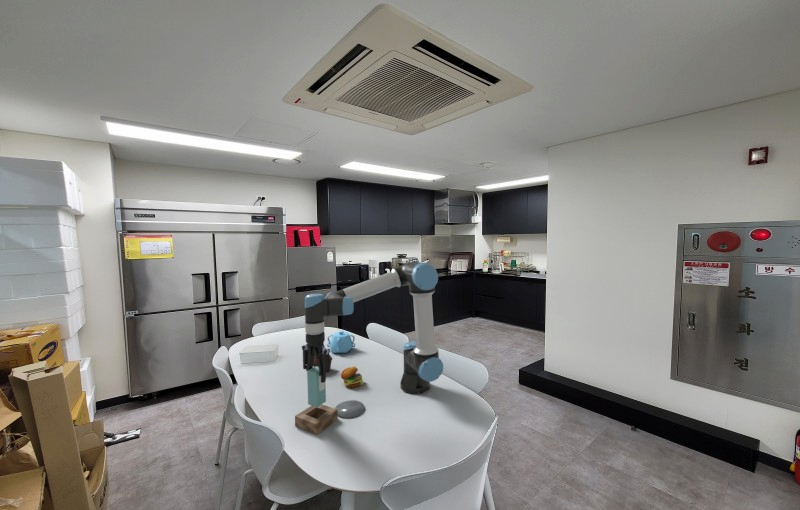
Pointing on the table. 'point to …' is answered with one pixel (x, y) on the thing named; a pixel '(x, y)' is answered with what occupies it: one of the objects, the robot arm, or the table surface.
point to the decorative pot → (341, 342)
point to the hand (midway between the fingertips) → (316, 387)
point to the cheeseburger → (351, 377)
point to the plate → (350, 409)
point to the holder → (309, 421)
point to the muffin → (317, 362)
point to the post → (315, 388)
